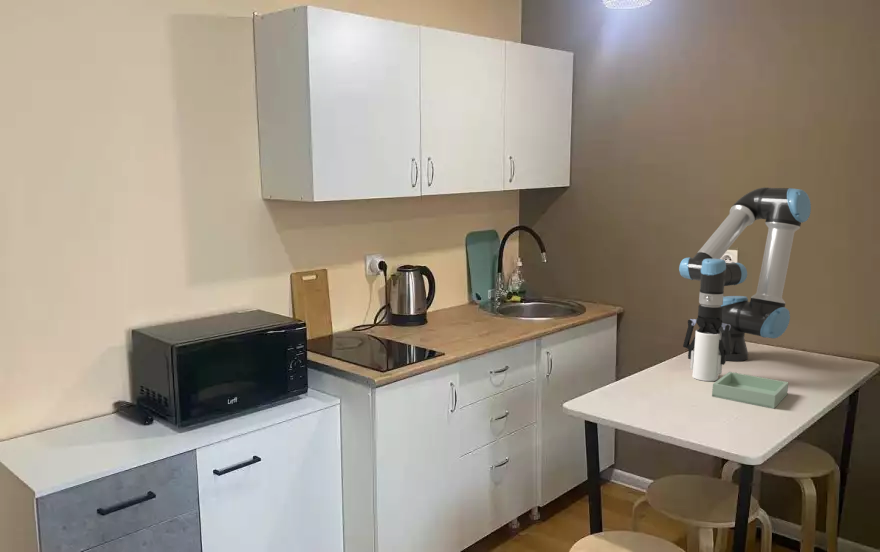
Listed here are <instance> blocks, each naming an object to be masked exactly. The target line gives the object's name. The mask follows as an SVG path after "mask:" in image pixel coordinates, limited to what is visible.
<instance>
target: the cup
mask: <svg viewBox="0 0 880 552" xmlns="http://www.w3.org/2000/svg"><path fill="white" fill-rule="evenodd" d="M698 330H699V328H698V329H696V330H695V334H694V335H695V336H694V337H695V347H694V349H693V350H694V361H693V370H692V375H691V377H692V378H693V379H695V380H698V381H704V382H714V381H715V382H716V381H717V380H719V374H717V366H718V355H720V351H719V340H721V336H722V332H720V331H719V332H720V334H713V333H708V332H703V333H700V332H697V331H698Z"/></svg>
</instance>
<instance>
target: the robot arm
mask: <svg viewBox="0 0 880 552" xmlns="http://www.w3.org/2000/svg"><path fill="white" fill-rule="evenodd" d="M811 209H812V204H811V200H810V197H809V195H808V193H807V192H806V191H805V190H804V189H802V188H801V189H798V188H792V187H789V188H787V187H786V188H785V187H760V188H756V189H754V190H751V191H749V192H747V193H746V194H744V195H742V196H741V197H740V198H739V199H738V200H736V202H735V203H734V204H733V205H732V206H731V208H730V209H729V214H728V215H727V216H726V218H724V220H723V221H722V222H721V224H720V225H719V226H718V228H717V229H715V231H714V232H713V233H712V235H711V236H710V237H708V239H707V240H706V242H705V243H704V244H703V245H702V246H701V247H700V249H699V250H698V251H697V252H696V253H695V255H694V256H693V257H685V258H683V259H682V260H681V261H680V263H679V267H678V270H679V274H680V276H681V277H682V278H684V279H688V280H691V281H699V282H700V286H699V295H698V297H699V298H698V303H699V305H698V311H697V317H696V319H695V318H690V319H688V320H687V330H686V333H685V337H684V341H683V344H682V345H683V346H682V347H683V348H685V349H687V350H688V354H687V358H688V359H689V360H690V364H689V365H690V366H689V370H692V371H693V361H694V347H695V336H694V337H693V339H692V335H693V332H694V331H693V330H694V327H695V325H696V324H697V326H698V329H699V330H698V331H697V332H700V333H703V332H708V333H713V334H720V332H722V336H721V340H719V351H720V355H718V366H717V374H718V375H721V374H722V372H723V371H722V369H723V366H724V365H725V364H726V362H727V361H729V362H730V361H731V362H742V361H746V360H748V357H749V351H748V346H747V343H746V340H745V334H749V335H753V336H758V337H761V338H767V339H778V338H779V337H781V336H782V335H784V333H785V332H786V330H787V329H788V326H789V324H790V320H791V315H790V310H789V309H788V308H787V307H786V301H785V299H783V293H784V288H785V284H786V278H787V273H788V270H789V269H788V267H789V263H790V257H791V254H792V247H793V241H794V237H795V232H796V231H798V230H800V229H801V225H802V223H805V222H808V219H809V218H810V216H811ZM758 220H765V221H764V224H765V225H766V227H767V228H768V229H767V235H766V240H765V246H764V251H763V257H762V262H761V268H760V272H759V276H758V284H757V287H756V293H754V294H753V295H751V297H750V301H749V299H748V296H745V295H744V296H743V295H728V296H727V295H726V296H724V294H725V293H724V290H725V287H729V286H737V285H739V284H742V283H744V282H745V281H746V280H747V278H748V270H747V268H746V266H745V265H744V263H740V262H734V261H733V262H726V260H724V259H721V258H723V256H724V255H725V254H726V253H727V252H728V250H729V248H731V246H732V245H733V244H734V242H736V241H737V239H738V237H739V236H741V234H742V233H743V231H745V229H746V228H747V226H752V225H753V224H754V222H755V221H758ZM719 331H720V332H719ZM691 339H692V341H691Z"/></svg>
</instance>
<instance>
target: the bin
mask: <svg viewBox="0 0 880 552" xmlns="http://www.w3.org/2000/svg"><path fill="white" fill-rule="evenodd" d="M788 391H789V382H788V381H783V380H777V379H771V378H766V377H761V376H755V375H750V374H744V373H737V372H732V371H728V372H727V373H725V374H724V375H723V376H721V377H720V378H718V380H716V381H715V382H713V383H712V391H711V397H713V398H714V397H715V398H719V399H723V400H729V401H734V402H739V403H744V404H749V405H754V406H757V407H758V406H759V407H762V408H763V407H764V408H768V409H773V410H774V409H776V407H777V406H778V405H779V404H780V403H781V402H782V401H783V400H784V399H785V397H786V396H787V395H788Z"/></svg>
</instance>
